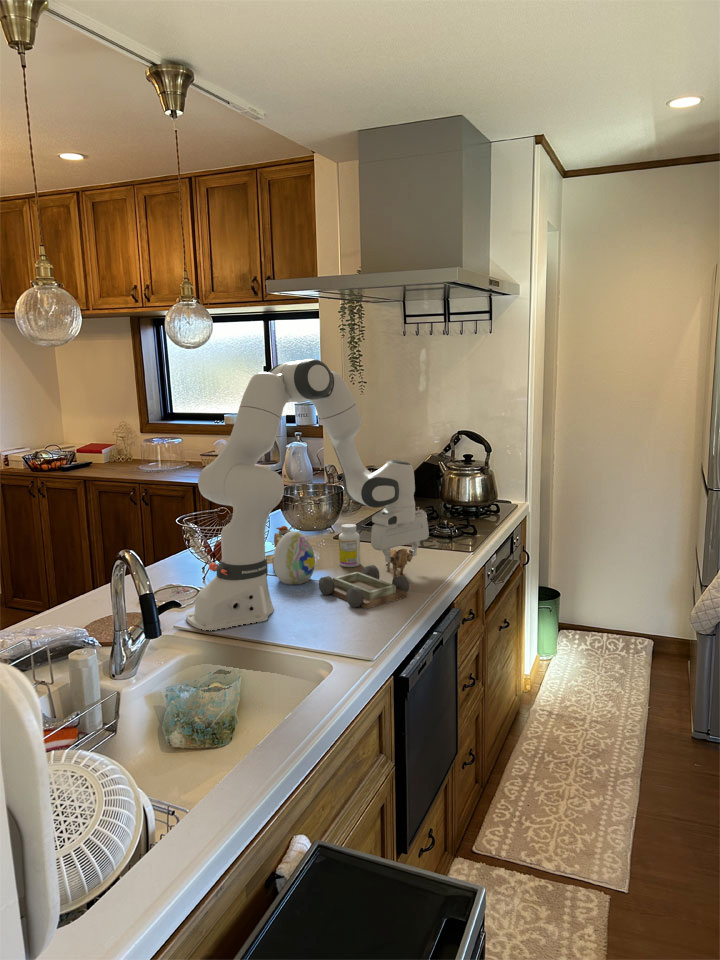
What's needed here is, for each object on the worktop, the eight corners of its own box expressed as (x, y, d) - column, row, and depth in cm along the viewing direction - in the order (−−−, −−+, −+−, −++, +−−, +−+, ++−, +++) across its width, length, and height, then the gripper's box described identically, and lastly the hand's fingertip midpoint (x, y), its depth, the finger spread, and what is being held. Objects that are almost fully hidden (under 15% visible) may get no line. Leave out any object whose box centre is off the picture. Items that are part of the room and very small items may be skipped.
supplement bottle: (347, 560, 233) (346, 522, 231) (364, 563, 230) (363, 524, 227) (335, 565, 228) (334, 526, 226) (352, 569, 224) (351, 528, 222)
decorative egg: (299, 589, 206) (297, 538, 203) (265, 583, 212) (263, 533, 210) (323, 577, 216) (322, 529, 213) (290, 572, 222) (288, 524, 220)
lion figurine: (414, 579, 213) (414, 549, 212) (398, 581, 211) (398, 551, 210) (393, 566, 227) (392, 538, 225) (377, 568, 225) (377, 540, 223)
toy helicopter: (276, 574, 220) (274, 530, 218) (264, 556, 240) (262, 516, 237) (302, 571, 223) (300, 528, 220) (288, 554, 242) (287, 514, 240)
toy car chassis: (360, 610, 188) (359, 592, 187) (316, 591, 203) (316, 574, 202) (411, 595, 199) (411, 578, 198) (366, 578, 214) (366, 562, 213)
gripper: (418, 506, 223) (419, 550, 225) (367, 517, 211) (368, 563, 213) (433, 510, 218) (433, 554, 220) (381, 521, 206) (382, 568, 208)
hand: (401, 558), depth 217 cm, fingers open, 8 cm apart
